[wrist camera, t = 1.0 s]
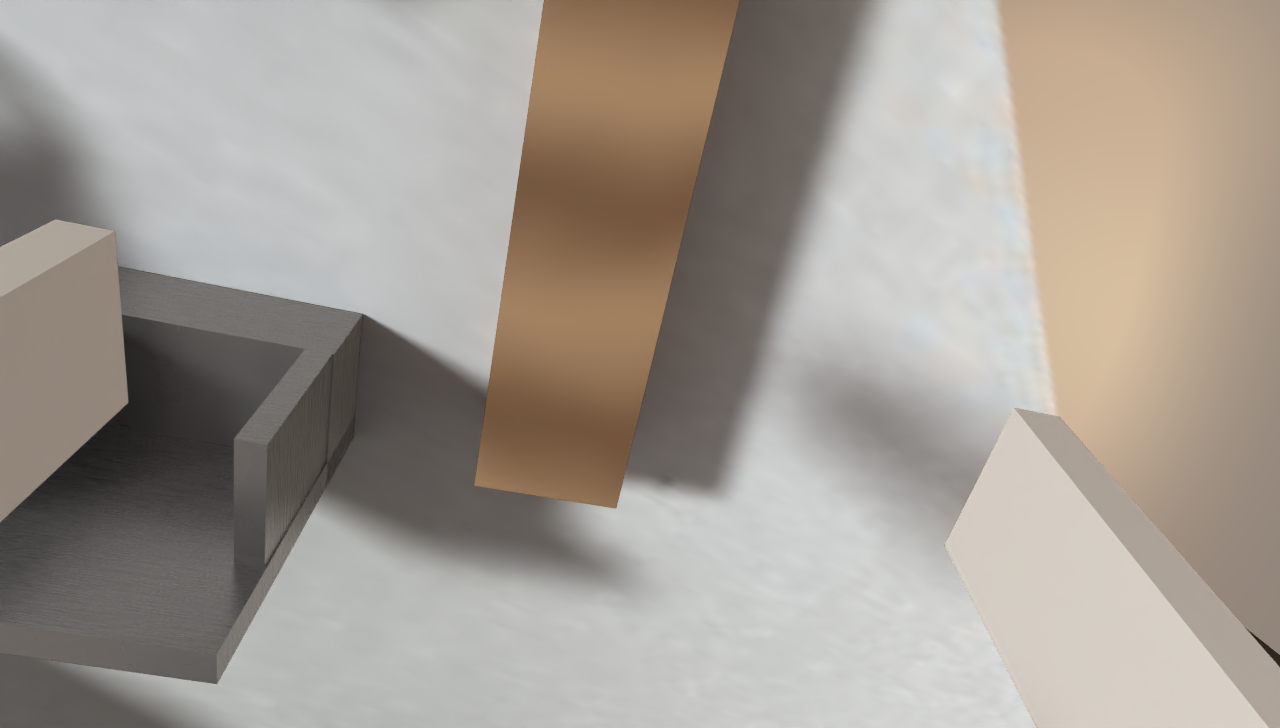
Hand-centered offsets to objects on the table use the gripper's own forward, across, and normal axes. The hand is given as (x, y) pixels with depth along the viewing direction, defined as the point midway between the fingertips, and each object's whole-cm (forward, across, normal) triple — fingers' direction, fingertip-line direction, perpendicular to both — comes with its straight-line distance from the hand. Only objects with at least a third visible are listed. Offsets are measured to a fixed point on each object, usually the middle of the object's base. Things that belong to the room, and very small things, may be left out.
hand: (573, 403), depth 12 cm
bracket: (+14, +11, +9) cm, 20 cm away
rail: (+15, 0, 0) cm, 15 cm away
